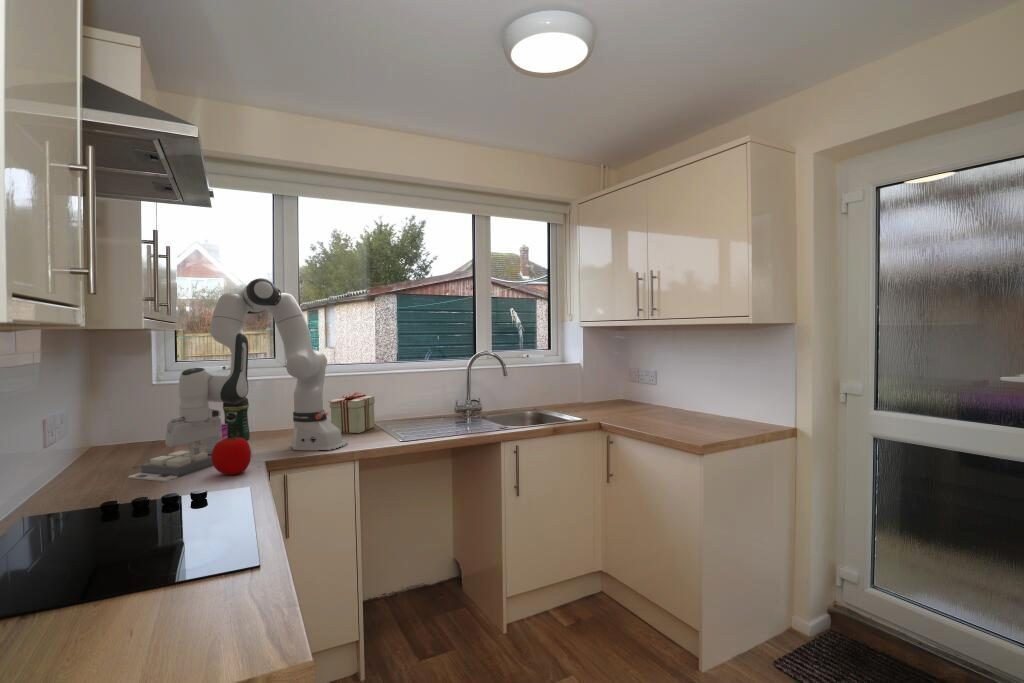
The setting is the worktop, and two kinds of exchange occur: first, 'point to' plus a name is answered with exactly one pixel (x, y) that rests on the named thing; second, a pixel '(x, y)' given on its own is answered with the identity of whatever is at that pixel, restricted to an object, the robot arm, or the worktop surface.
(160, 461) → the button
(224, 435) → the supplement box
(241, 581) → the worktop surface
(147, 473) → the button board
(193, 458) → the button
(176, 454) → the button
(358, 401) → the gift box
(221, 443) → the tomato
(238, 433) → the coffee jar
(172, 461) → the button
